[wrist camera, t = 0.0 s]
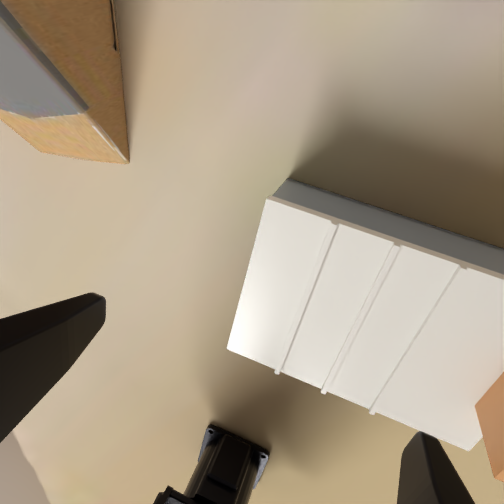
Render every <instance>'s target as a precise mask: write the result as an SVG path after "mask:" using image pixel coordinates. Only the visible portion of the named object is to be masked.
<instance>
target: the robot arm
mask: <svg viewBox="0 0 504 504" xmlns="http://www.w3.org/2000/svg"><path fill="white" fill-rule="evenodd" d="M105 318H106V299H105V298H104V297H103V296H101V295H98V294H96V293H87V294H84V295H80V296H77V297H73V298H70V299H67V300H63V301H60V302H56V303H53V304H50V305H46V306H43V307H39V308H36V309H32V310H29V311H26V312H22V313H19V314H15V315H12V316H9V317H5V318H2V319H0V443H1V442H2V441H3V439H4V438H5V437H6V436H7V435H8V434H9V433H10V432H11V431H12V430H13V429H14V428H15V427H16V426H17V425H18V423H19V422H20V421H21V420H22V419H23V418H24V417H25V416H26V415H27V414H28V413H29V412H30V411H31V410H32V409H33V407H34V406H35V405H36V404H37V403H38V402H39V401H40V400H41V399H42V398H43V397H44V396H45V395H46V394H47V393H48V391H49V390H50V389H51V388H52V387H53V386H54V385H55V384H56V383H57V382H58V381H59V380H60V379H61V378H62V377H63V375H64V374H65V373H66V372H67V371H68V370H69V369H70V368H71V366H72V365H73V364H74V363H75V361H76V360H77V359H78V357H79V356H80V355H81V354H82V352H83V351H84V350H85V348H86V347H87V346H88V344H89V343H90V342H91V340H92V339H93V338H94V337H95V335H96V334H97V333H98V331H99V330H100V329H101V327H102V326H103V324H104V322H105ZM269 455H270V454H269V452H268V451H267V450H265V449H263V448H261V447H259V446H257V445H254V444H252V443H250V442H248V441H246V440H244V439H241V438H239V437H237V436H235V435H233V434H231V433H229V432H226V431H224V430H222V429H220V428H218V427H216V426H213V425H208V427H207V429H206V432H205V436H204V440H203V443H202V447H201V451H200V455H199V458H198V464H197V466H196V469H195V471H194V473H193V475H192V477H191V479H190V481H189V483H188V486H187V488H186V490H185V492H184V494H181V493H179V492H177V491H175V490H173V488H172V487H170V486H167V488H166V490H165V492H160V493H159V494H158V496H157V497H156V499H155V501H154V503H153V504H248V502H249V499H250V496H251V492H252V489H255V487H256V485H257V483H258V481H259V479H260V476H261V474H262V472H263V470H264V467H265V465H266V463H267V461H268V458H269ZM397 504H475V502H474V501H473V499H472V497H471V496H470V494H469V492H468V490H467V489H466V487H465V485H464V483H463V482H462V480H461V478H460V477H459V475H458V473H457V471H456V470H455V468H454V466H453V465H452V463H451V461H450V459H449V458H448V456H447V454H446V452H445V451H444V449H443V447H442V446H441V444H440V442H439V441H438V439H437V438H436V437H434V436H432V435H429V434H427V433H425V432H422V431H419V432H417V433H416V434H415V436H414V437H413V438H412V439H411V441H410V442H409V443H408V445H407V446H406V447H405V449H404V451H403V453H402V458H401V468H400V478H399V488H398V498H397Z"/></svg>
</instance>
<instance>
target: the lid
mask: <svg viewBox="0 0 504 504" xmlns="http://www.w3.org/2000/svg"><path fill="white" fill-rule="evenodd" d="M227 349H228V350H230V351H233V352H235V353H237V354H240V355H242V356H244V357H247V358H249V359H252V360H254V361H256V362H259V363H261V364H263V365H266V366H268V367H270V368H273V369H275V372H274V373H275V374H278V375H279V373H280V372H282V373H285V374H287V375H289V376H292V377H294V378H297V379H299V380H301V381H304V382H306V383H308V384H311V385H313V386H315V387H318V388H320V389H321V392H320V393H322V394H326V392H330V393H332V394H334V395H337V396H339V397H341V398H344V399H346V400H349V401H351V402H353V403H356V404H358V405H360V406H363V407H365V408H367V409H369V414H372V415H374V414H375V413H376V412H377V413H379V414H382V415H384V416H386V417H389V418H391V419H393V420H396V421H398V422H401V423H403V424H405V425H408V426H410V427H412V428H415V429H417V430H419V431H422V432H425V433H427V434H429V435H432V436H434V437H436V438H438V439H441V440H443V441H445V442H448V443H450V444H453V445H455V446H457V447H460V448H462V449H464V450H467V451H470V450H471V449H472V448H473V446H474V445H475V444H476V443H477V442H478V441H479V440H480V439H481V438H482V437H483V439H484V442H485V446H486V450H487V453H488V457H489V461H490V464H491V468H492V472H493V475H494V478H495V479H498V480H500V481H502V482H504V275H503V274H500V273H497V272H495V271H492V270H489V269H486V268H483V267H480V266H477V265H474V264H471V263H468V262H465V261H462V260H459V259H456V258H453V257H450V256H447V255H445V254H442V253H439V252H436V251H433V250H430V249H427V248H424V247H421V246H418V245H415V244H412V243H409V242H406V241H403V240H400V239H397V238H395V237H392V236H389V235H386V234H383V233H380V232H377V231H374V230H371V229H368V228H365V227H362V226H359V225H356V224H353V223H350V222H347V221H345V220H342V219H339V218H336V217H333V216H330V215H327V214H324V213H321V212H318V211H315V210H312V209H309V208H306V207H303V206H300V205H297V204H295V203H292V202H289V201H286V200H283V199H280V198H277V197H274V196H271V195H269V196H268V197H267V198H266V202H265V206H264V209H263V213H262V217H261V221H260V224H259V228H258V232H257V236H256V240H255V243H254V247H253V251H252V255H251V258H250V262H249V266H248V270H247V273H246V277H245V281H244V285H243V289H242V292H241V296H240V300H239V304H238V307H237V311H236V315H235V319H234V322H233V326H232V330H231V334H230V338H229V341H228V345H227Z"/></svg>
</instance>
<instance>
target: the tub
mask: <svg viewBox="0 0 504 504" xmlns="http://www.w3.org/2000/svg"><path fill="white" fill-rule="evenodd" d="M272 196H274V197H277V198H280V199H283V200H286V201H289V202H292V203H295V204H297V205H300V206H303V207H306V208H309V209H312V210H315V211H318V212H321V213H324V214H327V215H330V216H333V217H336V218H339V219H342V220H345V221H347V222H350V223H353V224H356V225H359V226H362V227H365V228H368V229H371V230H374V231H377V232H380V233H383V234H386V235H389V236H392V237H395V238H397V239H400V240H403V241H406V242H409V243H412V244H415V245H418V246H421V247H424V248H427V249H430V250H433V251H436V252H439V253H442V254H445V255H447V256H450V257H453V258H456V259H459V260H462V261H465V262H468V263H471V264H474V265H477V266H480V267H483V268H486V269H489V270H492V271H495V272H497V273H500V274H503V275H504V249H503V248H500V247H497V246H494V245H491V244H488V243H484V242H481V241H478V240H475V239H472V238H469V237H466V236H463V235H460V234H457V233H454V232H451V231H448V230H445V229H442V228H439V227H436V226H433V225H430V224H427V223H424V222H421V221H418V220H415V219H411V218H408V217H405V216H402V215H399V214H396V213H393V212H390V211H387V210H384V209H381V208H378V207H375V206H372V205H369V204H366V203H363V202H360V201H357V200H354V199H351V198H348V197H345V196H342V195H339V194H335V193H332V192H329V191H326V190H323V189H320V188H317V187H314V186H311V185H308V184H305V183H302V182H299V181H296V180H293V179H290V178H287V179H286V181H285V182H284V183H283V184H282V185H281V186H280V187H279V189H278V190H277V191H276V192H275V193H274V194H273V195H272Z"/></svg>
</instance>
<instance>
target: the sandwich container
mask: <svg viewBox="0 0 504 504" xmlns="http://www.w3.org/2000/svg"><path fill="white" fill-rule="evenodd" d="M111 3H112V9H111ZM112 10H113V18H112ZM113 20H114V27H113ZM114 28H115V36H114ZM115 37H116V50H115V46H114V41H115ZM0 119H1V120H2V121H3V122H4V123H5V124H7V125H8V126H9V127H10V128H12V129H13V130H14V131H15V132H16V133H18V134H19V135H20V136H21V137H22V138H24V139H25V140H26V141H27V142H29V143H30V144H31V145H32V146H33V147H35V148H36V149H37V150H38V151H40V152H43V153H49V154H54V155H59V156H65V157H70V158H76V159H81V160H90V161H100V162H110V163H120V164H129V162H130V161H129V150H128V139H127V128H126V117H125V105H124V94H123V83H122V72H121V60H120V54H119V46H118V34H117V26H116V17H115V8H114V0H111V1H110V0H0Z"/></svg>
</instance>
